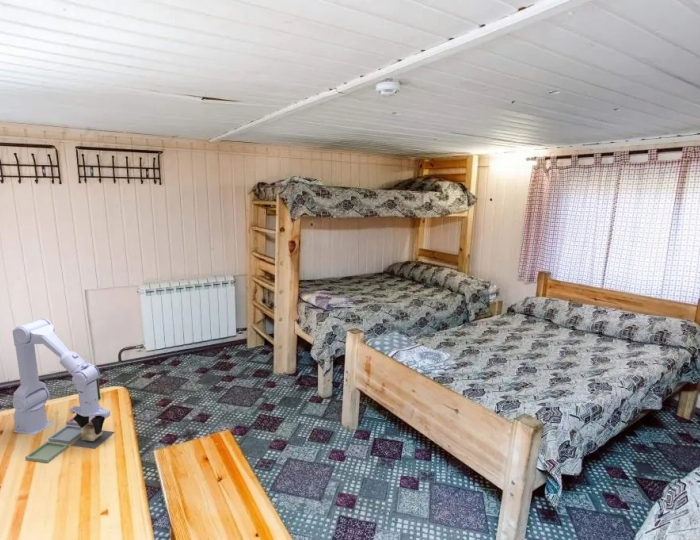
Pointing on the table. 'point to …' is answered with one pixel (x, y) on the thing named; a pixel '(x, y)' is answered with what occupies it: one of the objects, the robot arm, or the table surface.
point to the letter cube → (89, 432)
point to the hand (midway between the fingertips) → (92, 432)
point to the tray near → (47, 452)
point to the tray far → (73, 422)
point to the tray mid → (66, 434)
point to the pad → (94, 443)
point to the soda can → (98, 388)
